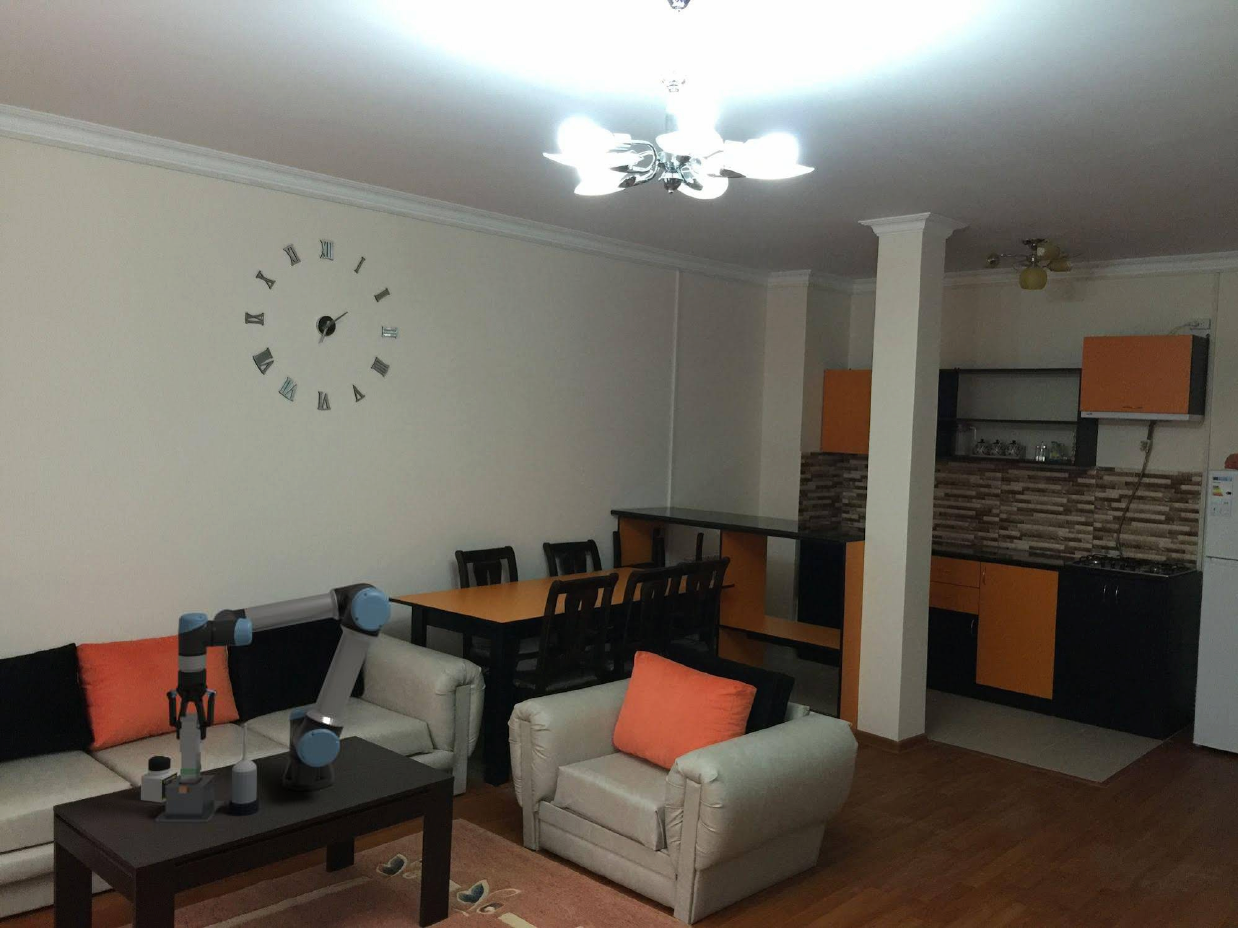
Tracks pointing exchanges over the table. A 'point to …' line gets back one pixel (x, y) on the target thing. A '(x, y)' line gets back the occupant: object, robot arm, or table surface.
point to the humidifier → (244, 785)
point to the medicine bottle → (157, 779)
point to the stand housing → (190, 801)
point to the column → (190, 750)
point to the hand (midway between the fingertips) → (191, 750)
